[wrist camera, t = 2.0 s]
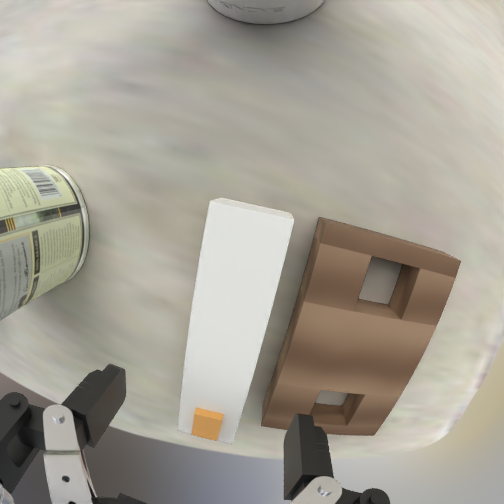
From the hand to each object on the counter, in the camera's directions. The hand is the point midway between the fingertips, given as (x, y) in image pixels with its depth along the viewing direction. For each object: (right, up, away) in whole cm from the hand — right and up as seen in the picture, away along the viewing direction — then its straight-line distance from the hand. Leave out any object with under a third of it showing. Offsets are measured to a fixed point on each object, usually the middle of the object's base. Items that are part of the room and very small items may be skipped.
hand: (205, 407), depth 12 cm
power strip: (+1, +2, +9) cm, 9 cm away
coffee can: (-15, +9, +8) cm, 20 cm away
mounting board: (+10, 0, +8) cm, 13 cm away
